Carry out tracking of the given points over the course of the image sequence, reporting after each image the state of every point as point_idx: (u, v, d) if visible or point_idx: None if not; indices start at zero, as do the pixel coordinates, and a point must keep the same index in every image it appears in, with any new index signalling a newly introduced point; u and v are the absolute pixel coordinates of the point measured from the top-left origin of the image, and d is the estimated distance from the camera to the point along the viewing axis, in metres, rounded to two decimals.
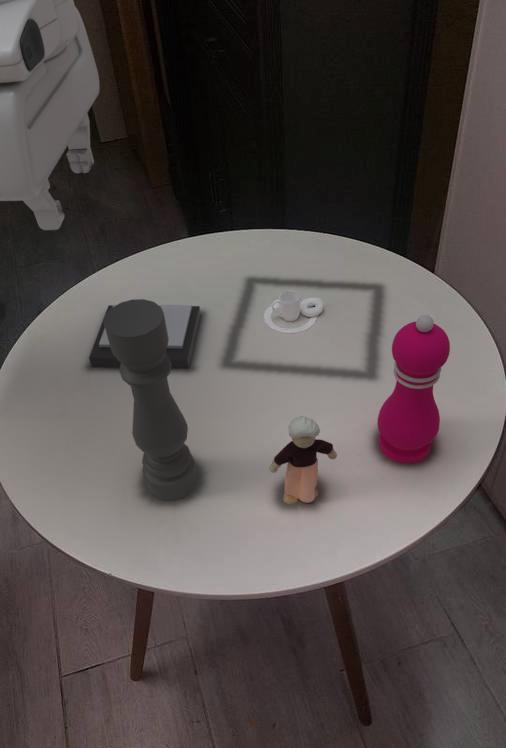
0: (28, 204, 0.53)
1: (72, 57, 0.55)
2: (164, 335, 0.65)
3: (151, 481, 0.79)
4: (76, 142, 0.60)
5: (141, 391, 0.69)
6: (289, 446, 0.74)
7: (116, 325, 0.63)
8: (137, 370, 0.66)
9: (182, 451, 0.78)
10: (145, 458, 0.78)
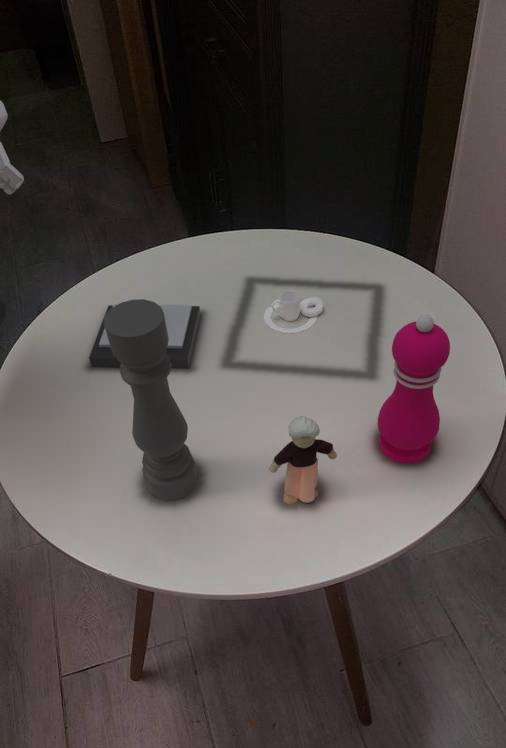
0: None
1: None
2: (164, 336, 0.65)
3: (151, 481, 0.79)
4: None
5: (141, 391, 0.69)
6: (289, 446, 0.74)
7: (117, 325, 0.63)
8: (137, 370, 0.66)
9: (182, 451, 0.78)
10: (145, 458, 0.78)
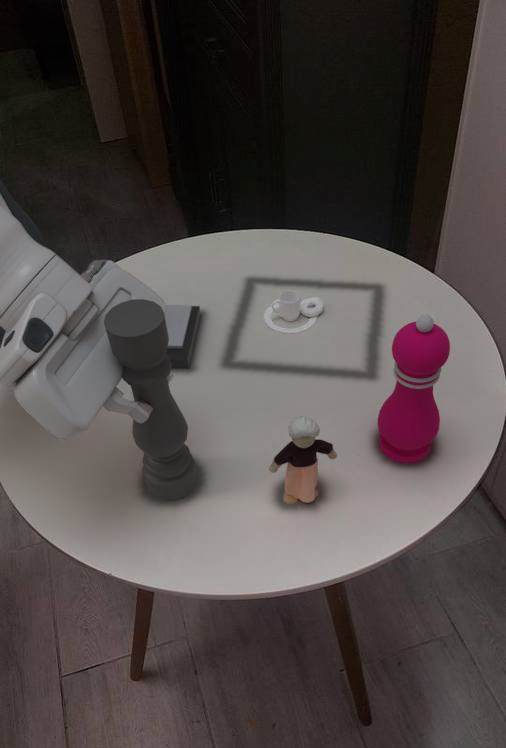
0: (118, 412, 0.69)
1: None
2: (164, 335, 0.65)
3: (151, 481, 0.79)
4: None
5: (141, 391, 0.69)
6: (289, 446, 0.74)
7: (117, 325, 0.63)
8: (137, 370, 0.66)
9: (182, 451, 0.78)
10: (145, 458, 0.78)
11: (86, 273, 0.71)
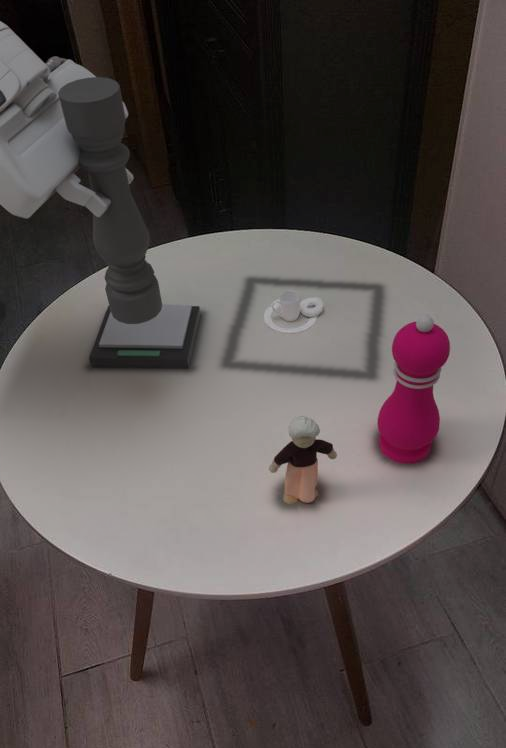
0: (76, 202, 0.68)
1: None
2: (120, 110, 0.64)
3: (113, 297, 0.78)
4: None
5: (98, 179, 0.68)
6: (289, 446, 0.74)
7: (71, 95, 0.62)
8: (94, 151, 0.65)
9: (145, 265, 0.77)
10: (107, 273, 0.78)
11: (45, 65, 0.70)
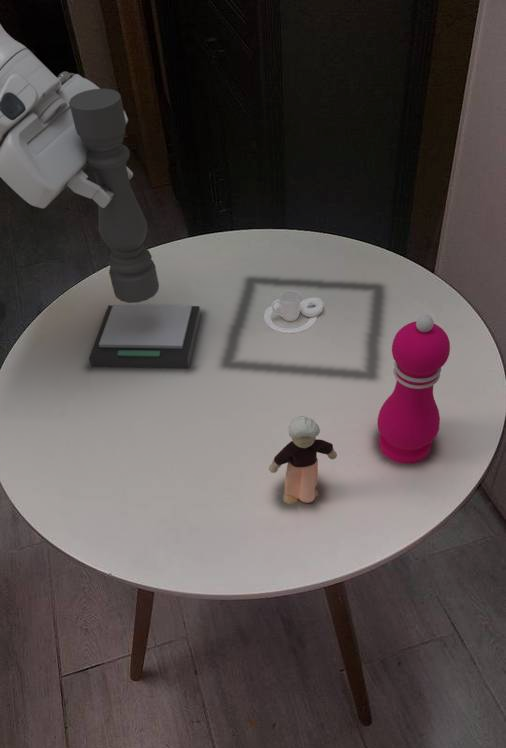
0: (84, 195, 0.80)
1: None
2: (121, 116, 0.76)
3: (116, 278, 0.90)
4: None
5: (103, 175, 0.80)
6: (289, 446, 0.74)
7: (80, 104, 0.74)
8: (99, 150, 0.77)
9: (143, 251, 0.89)
10: (111, 257, 0.89)
11: None
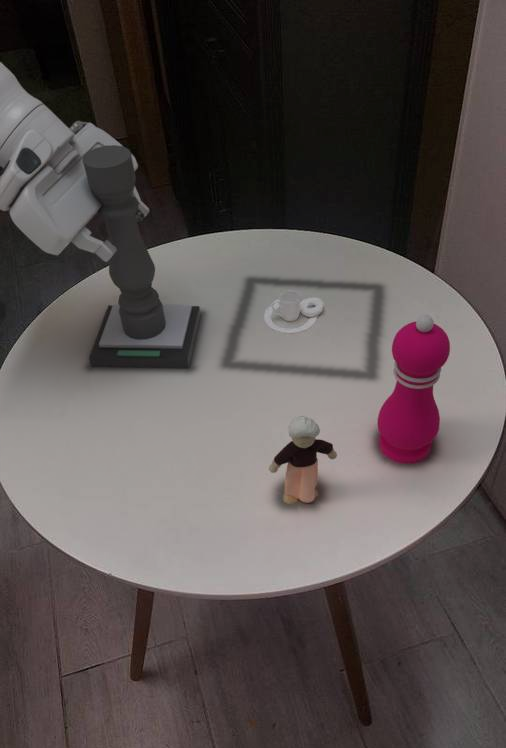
0: (87, 250, 0.83)
1: None
2: (131, 172, 0.81)
3: (126, 317, 0.95)
4: None
5: (114, 225, 0.85)
6: (289, 446, 0.74)
7: (93, 161, 0.79)
8: (110, 203, 0.82)
9: (151, 291, 0.94)
10: (120, 298, 0.94)
11: (70, 129, 0.86)
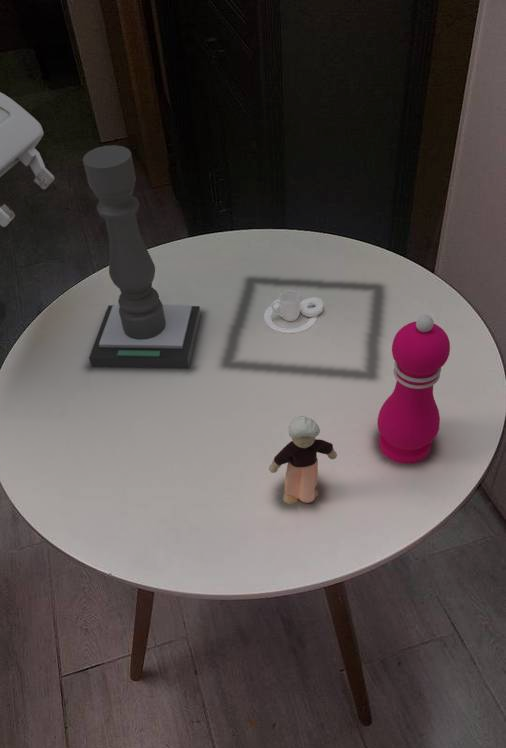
0: None
1: (0, 119, 0.85)
2: (131, 172, 0.81)
3: (126, 317, 0.95)
4: (36, 170, 0.88)
5: (114, 225, 0.85)
6: (289, 446, 0.74)
7: (93, 161, 0.79)
8: (110, 203, 0.82)
9: (151, 291, 0.94)
10: (120, 298, 0.94)
11: None
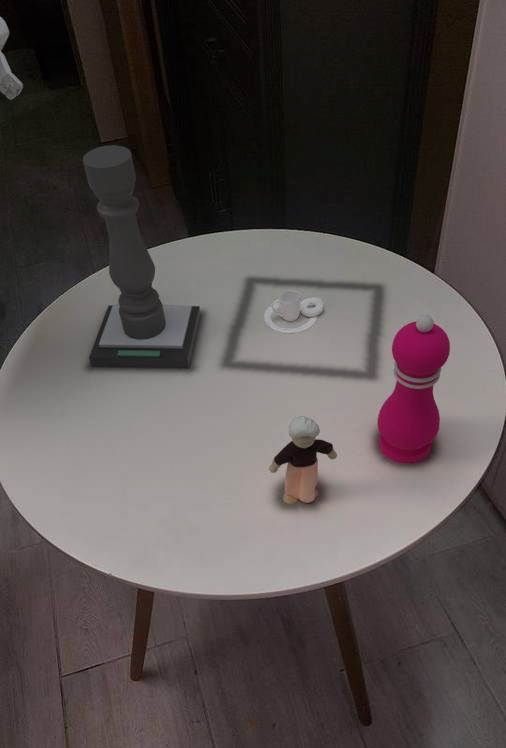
0: None
1: None
2: (131, 172, 0.81)
3: (126, 317, 0.95)
4: (1, 75, 0.74)
5: (114, 225, 0.85)
6: (289, 446, 0.74)
7: (93, 161, 0.79)
8: (110, 203, 0.82)
9: (151, 291, 0.94)
10: (120, 298, 0.94)
11: None
